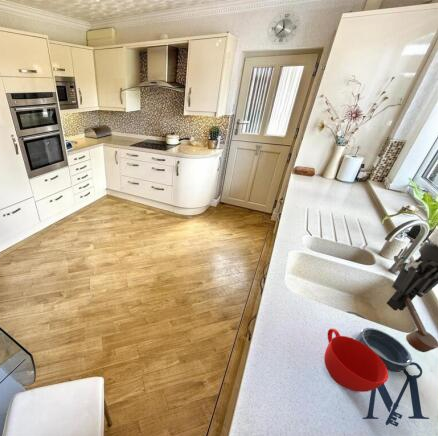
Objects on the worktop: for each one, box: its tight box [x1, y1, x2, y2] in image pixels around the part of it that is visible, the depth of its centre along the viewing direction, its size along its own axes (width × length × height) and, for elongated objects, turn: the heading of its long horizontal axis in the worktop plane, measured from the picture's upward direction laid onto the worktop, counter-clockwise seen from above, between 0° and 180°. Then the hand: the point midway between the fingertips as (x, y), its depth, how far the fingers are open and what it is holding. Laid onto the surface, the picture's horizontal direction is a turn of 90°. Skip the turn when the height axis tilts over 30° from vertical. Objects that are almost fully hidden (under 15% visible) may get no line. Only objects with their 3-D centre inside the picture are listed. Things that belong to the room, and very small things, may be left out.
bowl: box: [355, 327, 413, 373], centre depth 75 cm, size 12×12×4 cm
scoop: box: [405, 297, 438, 353], centre depth 68 cm, size 16×5×8 cm, turn 1°
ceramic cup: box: [323, 328, 389, 393], centre depth 69 cm, size 13×17×10 cm
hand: (394, 306), depth 72 cm, fingers closed on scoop
